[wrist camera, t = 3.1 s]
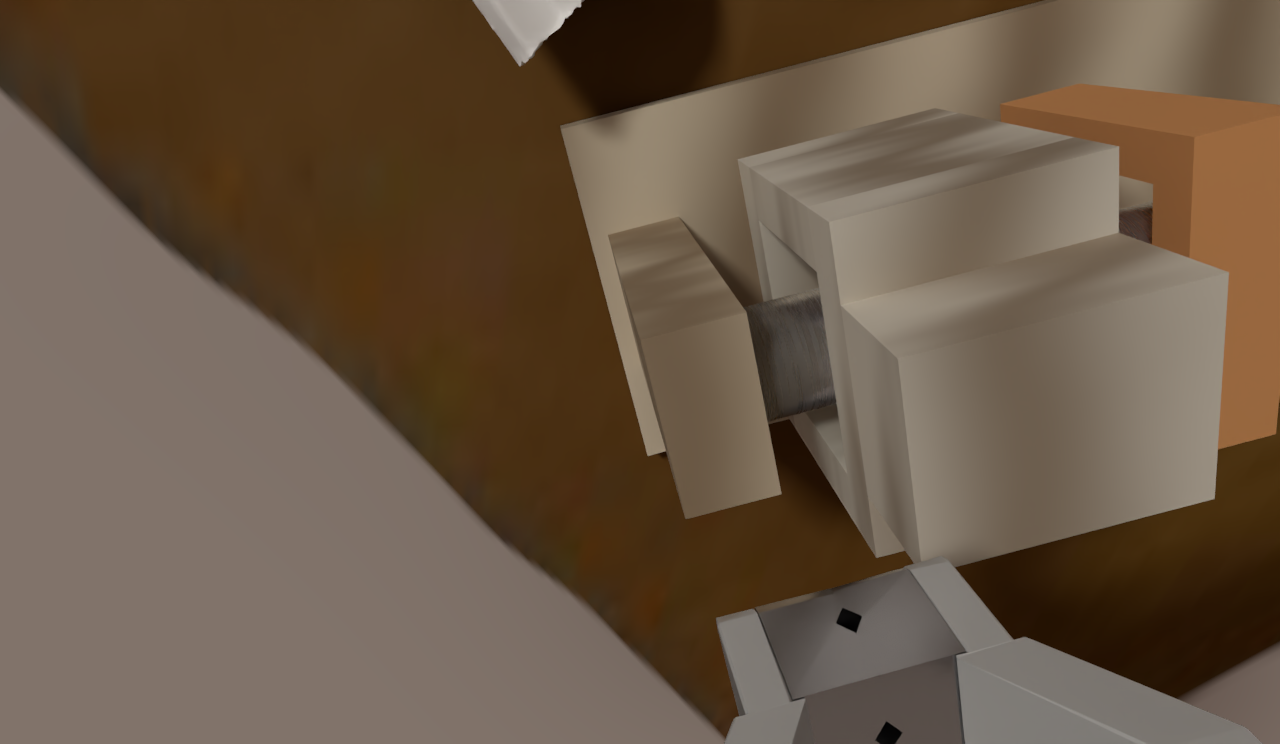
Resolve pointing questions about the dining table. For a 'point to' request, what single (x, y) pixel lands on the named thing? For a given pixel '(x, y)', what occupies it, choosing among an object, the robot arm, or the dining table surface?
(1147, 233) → the pipe
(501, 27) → the pair of white wedges
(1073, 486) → the sleeve
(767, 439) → the stand
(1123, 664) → the dining table surface
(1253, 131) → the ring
